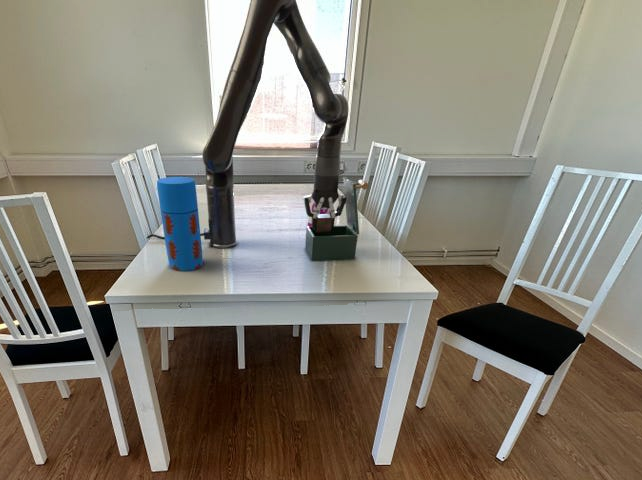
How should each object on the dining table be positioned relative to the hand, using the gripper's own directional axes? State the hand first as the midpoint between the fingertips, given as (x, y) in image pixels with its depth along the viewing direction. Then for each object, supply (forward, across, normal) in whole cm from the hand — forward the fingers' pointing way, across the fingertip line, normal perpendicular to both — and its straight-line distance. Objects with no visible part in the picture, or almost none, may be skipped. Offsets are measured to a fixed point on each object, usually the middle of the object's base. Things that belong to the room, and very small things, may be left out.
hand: (322, 229), depth 130 cm
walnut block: (0, 0, 0) cm, 0 cm away
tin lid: (-7, -8, 0) cm, 11 cm away
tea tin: (+9, -3, 0) cm, 9 cm away
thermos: (+9, +45, +6) cm, 46 cm away
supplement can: (+9, -3, -20) cm, 22 cm away
